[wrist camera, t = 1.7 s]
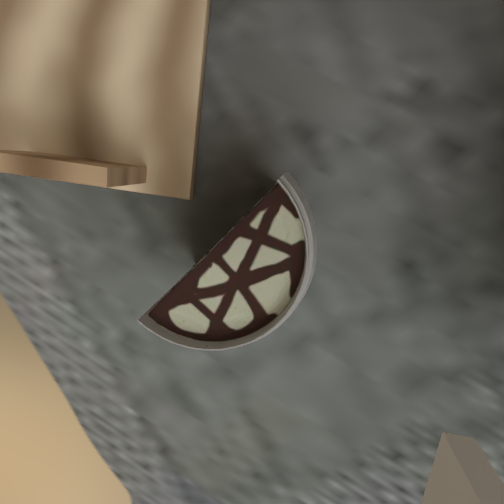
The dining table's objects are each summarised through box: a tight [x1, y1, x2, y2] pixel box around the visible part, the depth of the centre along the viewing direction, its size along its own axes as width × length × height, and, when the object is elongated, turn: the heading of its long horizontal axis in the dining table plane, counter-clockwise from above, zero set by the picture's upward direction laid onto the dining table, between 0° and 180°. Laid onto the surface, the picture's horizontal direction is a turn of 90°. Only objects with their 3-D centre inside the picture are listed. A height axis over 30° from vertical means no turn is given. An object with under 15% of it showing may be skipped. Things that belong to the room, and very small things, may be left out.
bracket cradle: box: [0, 0, 211, 200], centre depth 24 cm, size 16×19×7 cm
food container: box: [138, 171, 318, 351], centre depth 25 cm, size 12×6×10 cm, turn 136°
